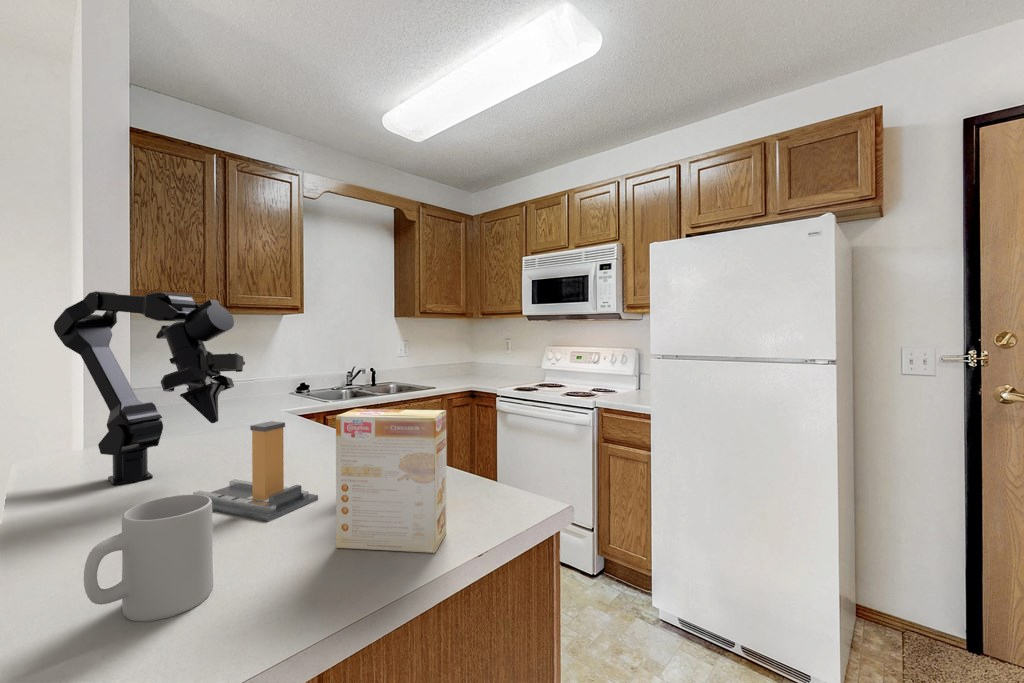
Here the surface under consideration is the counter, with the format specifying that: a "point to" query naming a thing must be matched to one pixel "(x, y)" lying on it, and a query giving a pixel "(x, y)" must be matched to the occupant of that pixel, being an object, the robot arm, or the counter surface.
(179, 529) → the mug
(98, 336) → the robot arm
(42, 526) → the counter surface
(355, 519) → the coffeecake box
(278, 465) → the fader tab
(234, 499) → the plate
